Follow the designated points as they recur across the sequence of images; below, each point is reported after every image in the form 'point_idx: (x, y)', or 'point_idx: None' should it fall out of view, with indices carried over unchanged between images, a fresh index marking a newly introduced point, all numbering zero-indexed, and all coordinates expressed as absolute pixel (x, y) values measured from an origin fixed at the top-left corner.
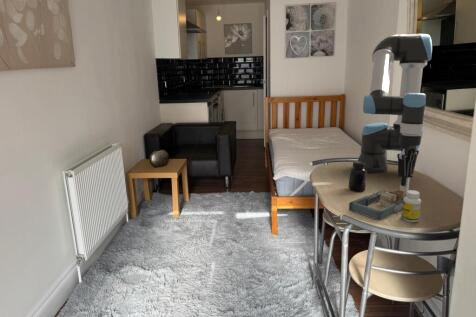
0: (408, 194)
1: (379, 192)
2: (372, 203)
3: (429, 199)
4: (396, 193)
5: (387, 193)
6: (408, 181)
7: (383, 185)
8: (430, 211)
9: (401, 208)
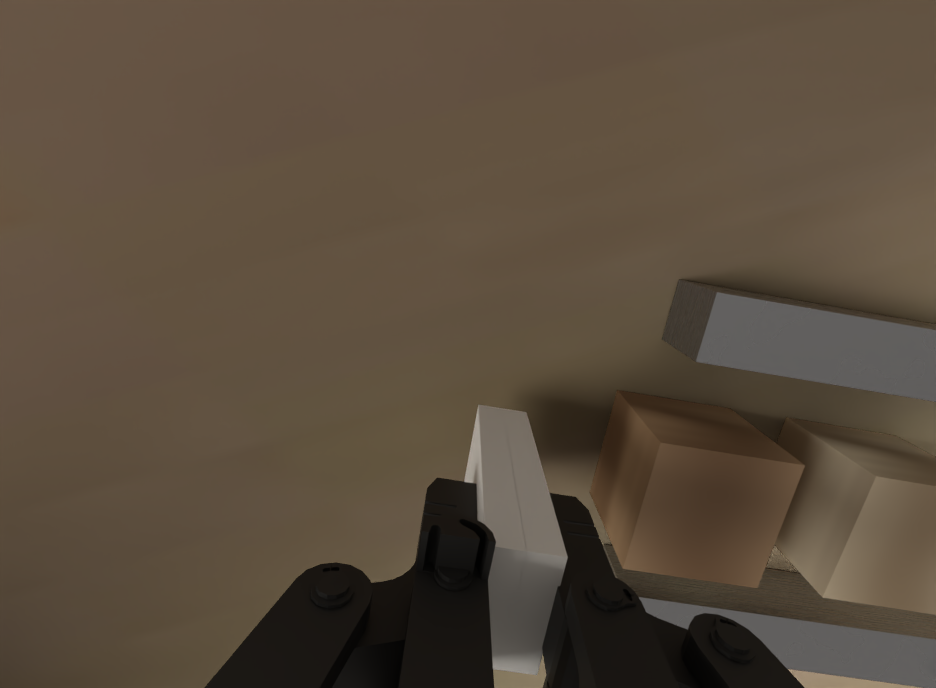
0: None
1: None
2: None
3: (360, 161)
4: (791, 491)
5: (876, 570)
6: (519, 506)
7: None
8: (808, 31)
9: (932, 325)
